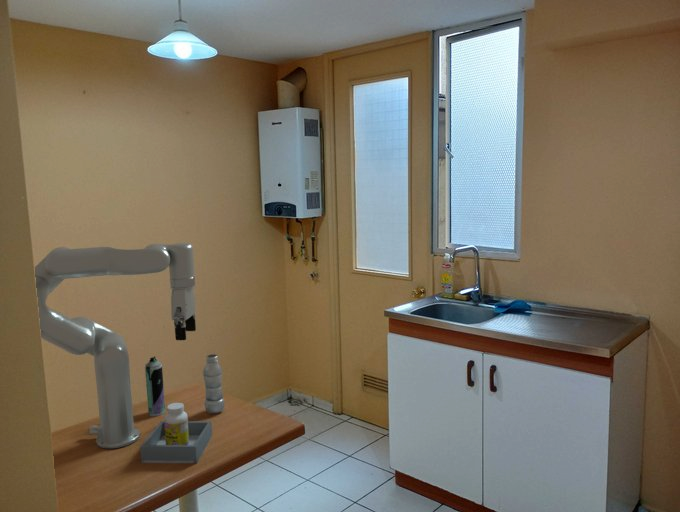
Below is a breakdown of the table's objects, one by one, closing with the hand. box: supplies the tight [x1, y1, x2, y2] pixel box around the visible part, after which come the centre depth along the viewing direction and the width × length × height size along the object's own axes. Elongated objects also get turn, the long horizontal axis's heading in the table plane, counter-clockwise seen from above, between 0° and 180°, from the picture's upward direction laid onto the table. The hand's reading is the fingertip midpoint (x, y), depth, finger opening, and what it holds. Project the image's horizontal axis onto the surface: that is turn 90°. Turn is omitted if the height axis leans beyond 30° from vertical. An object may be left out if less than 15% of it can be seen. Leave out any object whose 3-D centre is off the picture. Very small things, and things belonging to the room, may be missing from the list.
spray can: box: [144, 356, 166, 417], centre depth 189 cm, size 6×6×20 cm
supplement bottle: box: [163, 402, 189, 445], centre depth 164 cm, size 7×7×13 cm
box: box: [139, 420, 213, 464], centre depth 165 cm, size 16×16×5 cm
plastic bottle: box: [202, 353, 226, 414], centre depth 189 cm, size 6×7×20 cm
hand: (186, 335), depth 176 cm, fingers open, 9 cm apart
